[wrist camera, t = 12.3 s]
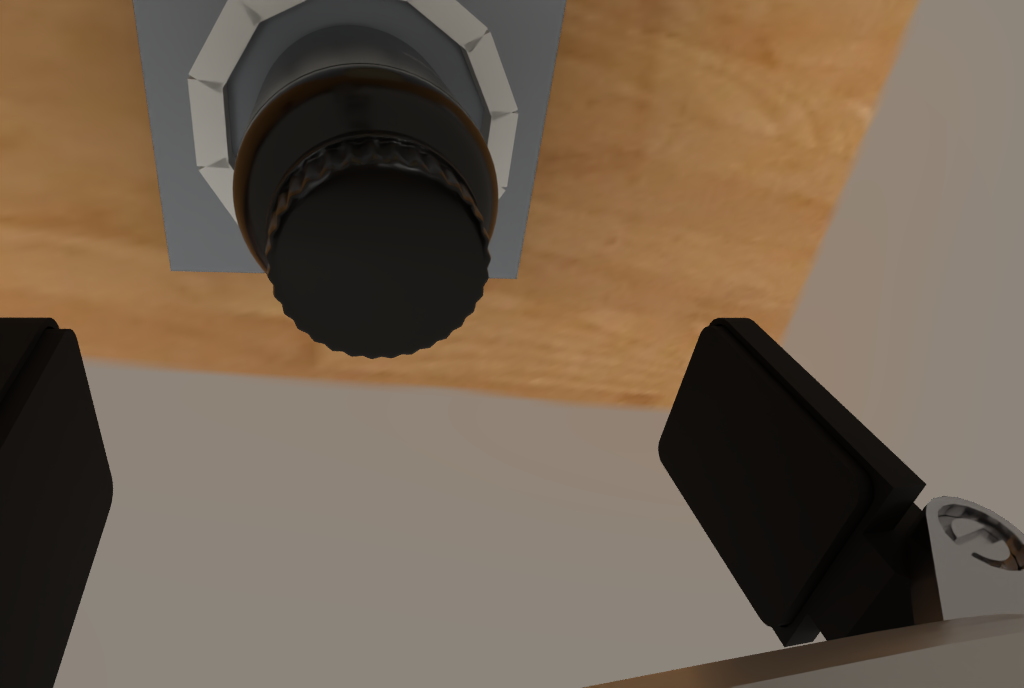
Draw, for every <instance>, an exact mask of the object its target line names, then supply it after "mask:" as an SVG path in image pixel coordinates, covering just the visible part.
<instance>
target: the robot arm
mask: <svg viewBox="0 0 1024 688" xmlns="http://www.w3.org/2000/svg"><path fill="white" fill-rule="evenodd" d="M658 451H659V457H660V460H661V462H662V464H663V465H664V467H665V468H666V470H667V471H668V473H669V475H670V477H671V478H672V480H673V481H674V483H675V485H676V486H677V488H678V489H679V491H680V492H681V494H682V495H683V497H684V499H685V500H686V502H687V504H688V505H689V507H690V508H691V510H692V511H693V513H694V515H695V516H696V518H697V519H698V521H699V523H700V524H701V526H702V527H703V529H704V531H705V532H706V534H707V535H708V537H709V538H710V540H711V542H712V543H713V545H714V546H715V548H716V550H717V551H718V553H719V554H720V556H721V557H722V559H723V561H724V562H725V563H726V565H727V567H728V569H729V570H730V572H731V573H732V575H733V576H734V578H735V580H736V581H737V583H738V584H739V586H740V588H741V589H742V591H743V592H744V594H745V595H746V597H747V599H748V600H749V602H750V603H751V605H752V607H753V608H754V610H755V611H756V613H757V614H758V616H759V617H760V619H761V620H762V621H763V622H764V623H765V624H766V625H767V626H770V627H772V628H773V630H774V631H775V633H776V634H777V636H778V638H779V639H780V641H781V642H782V644H783V646H784V647H787V646H793V645H798V644H803V643H808V642H813V641H814V639H815V638H816V637H817V635H818V634H819V632H821V633H822V634H823V636H824V637H825V638H826V640H827V641H824V642H819V643H814V644H808V645H803V646H797V647H792V648H787V649H782V650H777V651H771V652H766V653H760V654H755V655H750V656H744V657H739V658H734V659H729V660H723V661H718V662H713V663H707V664H702V665H697V666H692V667H687V668H681V669H676V670H671V671H666V672H661V673H656V674H651V675H645V676H640V677H635V678H630V679H625V680H620V681H614V682H610V683H604V684H599V685H594V686H589V687H583V688H1024V534H1023V533H1022V532H1021V531H1020V530H1018V529H1017V528H1016V527H1015V526H1014V525H1012V524H1011V523H1010V522H1009V521H1007V520H1005V519H1004V518H1003V517H1001V516H999V515H998V514H996V513H995V512H993V511H991V510H989V509H987V508H985V507H983V506H980V505H978V504H976V503H974V502H971V501H968V500H964V499H961V498H958V497H947V496H942V497H937V498H933V499H932V500H931V501H930V502H929V503H928V504H927V505H926V506H925V507H924V509H923V510H922V511H921V509H919V507H918V506H916V505H915V504H914V503H913V502H914V501H915V499H916V498H917V496H918V495H919V494H920V492H921V491H922V490H923V488H924V487H925V485H926V484H925V482H923V481H922V480H921V479H920V478H919V477H918V476H917V475H916V474H915V473H914V472H913V471H912V470H911V469H910V468H909V467H908V466H906V465H905V464H904V463H903V462H902V461H901V460H900V459H899V458H898V457H897V456H896V455H895V454H894V453H893V452H892V451H890V449H888V448H887V447H886V446H885V445H884V444H883V443H882V442H881V441H880V440H879V439H878V438H877V437H876V436H875V435H873V433H872V432H870V431H869V430H868V429H867V428H866V427H865V426H864V425H863V424H862V423H861V422H860V421H859V420H858V419H856V417H855V416H854V415H852V414H851V413H850V412H849V411H848V410H847V409H846V408H845V407H844V406H843V405H842V404H841V403H840V402H839V401H838V400H837V399H836V398H834V397H833V396H832V395H831V394H830V393H829V392H828V391H827V390H826V389H825V388H824V387H823V386H822V385H820V383H819V382H817V381H816V380H815V379H814V378H813V377H812V376H811V375H810V374H809V373H808V372H807V371H806V370H805V369H804V368H803V367H802V366H801V365H800V364H798V363H797V362H796V361H795V360H794V359H793V358H792V357H791V356H790V355H789V354H788V353H787V352H786V351H785V350H784V349H783V348H782V347H780V346H779V345H778V344H777V343H776V342H775V341H774V340H773V339H772V338H771V337H770V336H769V335H768V334H767V333H766V332H765V331H764V330H762V329H761V328H760V327H759V326H758V325H757V324H756V323H755V322H754V321H752V320H751V319H749V318H717V319H714V320H713V321H712V322H711V323H710V325H709V326H708V327H705V328H704V329H703V330H702V332H701V334H700V336H699V339H698V341H697V344H696V346H695V349H694V352H693V354H692V357H691V360H690V362H689V365H688V367H687V370H686V373H685V375H684V378H683V380H682V383H681V386H680V388H679V391H678V394H677V396H676V399H675V401H674V404H673V407H672V409H671V412H670V414H669V417H668V420H667V422H666V425H665V428H664V430H663V433H662V435H661V438H660V441H659V446H658ZM112 496H113V482H112V476H111V472H110V469H109V464H108V461H107V456H106V452H105V448H104V444H103V441H102V437H101V433H100V429H99V425H98V421H97V417H96V413H95V409H94V405H93V401H92V397H91V393H90V389H89V385H88V381H87V377H86V373H85V369H84V365H83V361H82V357H81V353H80V349H79V345H78V341H77V338H76V335H75V333H74V332H73V330H71V329H59V326H58V324H57V323H56V321H55V320H54V319H52V318H0V688H53V685H54V682H55V679H56V676H57V673H58V670H59V667H60V664H61V660H62V657H63V654H64V651H65V648H66V645H67V642H68V639H69V635H70V632H71V629H72V626H73V623H74V620H75V616H76V614H77V610H78V607H79V604H80V601H81V598H82V595H83V591H84V588H85V585H86V582H87V579H88V576H89V573H90V569H91V566H92V563H93V560H94V557H95V554H96V551H97V548H98V545H99V541H100V538H101V535H102V532H103V529H104V526H105V523H106V520H107V516H108V513H109V510H110V507H111V503H112Z"/></svg>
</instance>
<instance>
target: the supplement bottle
mask: <svg viewBox="0 0 1024 688" xmlns="http://www.w3.org/2000/svg"><path fill="white" fill-rule="evenodd" d="M232 190H233V204H234V210H235V215H236V219H237V223H238V226H239V229H240V231H241V234H242V237H243V239H244V241H245V243H246V245H247V247H248V249H249V251H250V253H251V254H252V256H253V257H254V259H255V260H256V262H257V263H258V264H259V266H260V267H261V268H262V270H263V271H264V272H265V273H266V274H267V276H268V278H269V280H270V281H271V283H272V284H273V294H274V297H275V298H276V299H277V300H278V301H279V302H281V304H282V307H283V311H284V314H285V315H287V316H288V317H289V318H291V319H293V320H294V322H295V324H296V326H297V328H298V329H299V330H301V331H303V332H306V333H308V334H309V335H310V337H311V338H312V339H313V341H315V342H318V343H323V344H325V345H326V346H327V347H328V348H330V349H331V350H332V351H342V352H345V353H346V354H348V355H350V356H365V357H367V358H370V359H374V358H378V357H387V358H394V357H396V356H399V355H401V354H406V355H409V354H413V353H415V352H416V351H418V350H419V349H426V348H430V347H431V346H432V345H434V344H435V343H436V342H437V341H439V340H443V339H446V338H447V337H448V336H449V335H450V333H451V332H452V331H453V330H455V329H457V328H459V327H461V326H462V324H463V322H464V320H465V318H466V317H467V316H469V315H470V314H471V313H473V312H474V309H475V305H476V302H477V301H478V300H479V299H480V298H481V297H482V296H483V286H484V284H485V283H486V282H487V280H488V278H489V274H488V269H487V268H488V266H489V264H490V261H491V255H490V253H489V250H488V246H489V243H490V240H491V237H492V235H493V231H494V228H495V224H496V219H497V213H498V183H497V175H496V171H495V167H494V163H493V160H492V157H491V154H490V151H489V149H488V147H487V145H486V143H485V140H484V138H483V136H482V135H481V133H480V131H479V129H478V128H477V126H476V124H475V123H474V122H473V120H472V119H471V117H470V116H469V115H468V113H467V112H466V111H465V109H464V108H463V107H462V105H461V104H460V103H459V101H458V100H457V99H456V98H455V96H454V95H453V94H452V92H451V91H450V90H449V88H448V87H447V86H446V85H445V83H444V82H443V81H442V79H441V78H440V77H439V75H438V74H437V73H436V72H435V70H434V69H433V68H432V67H431V66H430V64H429V63H428V62H427V61H426V60H425V59H424V58H423V57H422V56H421V55H420V54H419V53H418V52H417V51H416V50H415V49H413V48H412V47H411V46H409V45H408V44H407V43H405V42H403V41H402V40H400V39H399V38H397V37H395V36H393V35H391V34H389V33H386V32H383V31H381V30H378V29H374V28H370V27H365V26H359V25H337V26H331V27H326V28H323V29H319V30H316V31H314V32H311V33H309V34H307V35H305V36H303V37H302V38H300V39H298V40H297V41H296V42H294V43H293V44H291V45H290V46H289V47H288V48H287V49H286V50H285V51H284V52H283V53H282V54H281V55H280V56H279V57H278V58H277V60H276V61H275V62H274V64H273V65H272V67H271V68H270V70H269V72H268V74H267V76H266V78H265V79H264V82H263V84H262V87H261V89H260V91H259V94H258V97H257V99H256V102H255V105H254V107H253V110H252V113H251V115H250V118H249V121H248V123H247V126H246V129H245V131H244V134H243V137H242V140H241V142H240V146H239V149H238V152H237V156H236V161H235V167H234V173H233V188H232Z"/></svg>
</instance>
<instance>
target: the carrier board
mask: <svg viewBox="0 0 1024 688" xmlns="http://www.w3.org/2000/svg"><path fill="white" fill-rule="evenodd" d="M565 5H566V0H133V6H134V13H135V20H136V27H137V34H138V41H139V48H140V55H141V63H142V70H143V77H144V84H145V91H146V98H147V105H148V112H149V119H150V126H151V133H152V141H153V148H154V155H155V162H156V169H157V176H158V183H159V190H160V197H161V204H162V211H163V219H164V226H165V233H166V240H167V247H168V254H169V261H170V268H171V271H196V272H240V273H265V272H264V271H263V270H262V268H261V267H260V266H259V264H258V263H257V262H256V260H255V259H254V257H253V256H252V254H251V253H250V251H249V249H248V247H247V245H246V243H245V241H244V239H243V237H242V234H241V231H240V229H239V226H238V223H237V219H236V215H235V210H234V204H233V190H232V188H233V173H234V167H235V161H236V156H237V152H238V149H239V146H240V142H241V140H242V137H243V134H244V131H245V129H246V126H247V123H248V121H249V118H250V115H251V113H252V110H253V107H254V105H255V102H256V99H257V97H258V94H259V91H260V89H261V87H262V84H263V82H264V79H265V78H266V76H267V74H268V72H269V70H270V68H271V67H272V65H273V64H274V62H275V61H276V60H277V58H278V57H279V56H280V55H281V54H282V53H283V52H284V51H285V50H286V49H287V48H288V47H289V46H290V45H291V44H293V43H294V42H296V41H297V40H298V39H300V38H302V37H303V36H305V35H307V34H309V33H311V32H314V31H316V30H319V29H323V28H326V27H331V26H337V25H359V26H365V27H370V28H374V29H378V30H381V31H383V32H386V33H389V34H391V35H393V36H395V37H397V38H399V39H400V40H402V41H403V42H405V43H407V44H408V45H409V46H411V47H412V48H413V49H415V50H416V51H417V52H418V53H419V54H420V55H421V56H422V57H423V58H424V59H425V60H426V61H427V62H428V63H429V64H430V66H431V67H432V68H433V69H434V70H435V72H436V73H437V74H438V75H439V77H440V78H441V79H442V81H443V82H444V83H445V85H446V86H447V87H448V88H449V90H450V91H451V92H452V94H453V95H454V96H455V98H456V99H457V100H458V101H459V103H460V104H461V105H462V107H463V108H464V109H465V111H466V112H467V113H468V115H469V116H470V117H471V119H472V120H473V122H474V123H475V124H476V126H477V128H478V129H479V131H480V133H481V135H482V136H483V138H484V140H485V143H486V145H487V147H488V149H489V151H490V154H491V157H492V160H493V163H494V167H495V171H496V175H497V183H498V213H497V219H496V224H495V228H494V231H493V235H492V237H491V240H490V243H489V246H488V250H489V253H490V255H491V261H490V264H489V266H488V268H487V269H488V274H489V278H506V279H517V274H518V268H519V262H520V257H521V251H522V246H523V240H524V234H525V229H526V223H527V218H528V212H529V207H530V201H531V195H532V190H533V184H534V179H535V173H536V167H537V162H538V156H539V151H540V145H541V139H542V134H543V128H544V123H545V117H546V111H547V106H548V100H549V95H550V89H551V84H552V78H553V72H554V67H555V61H556V56H557V50H558V44H559V39H560V33H561V28H562V22H563V16H564V11H565Z"/></svg>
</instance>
